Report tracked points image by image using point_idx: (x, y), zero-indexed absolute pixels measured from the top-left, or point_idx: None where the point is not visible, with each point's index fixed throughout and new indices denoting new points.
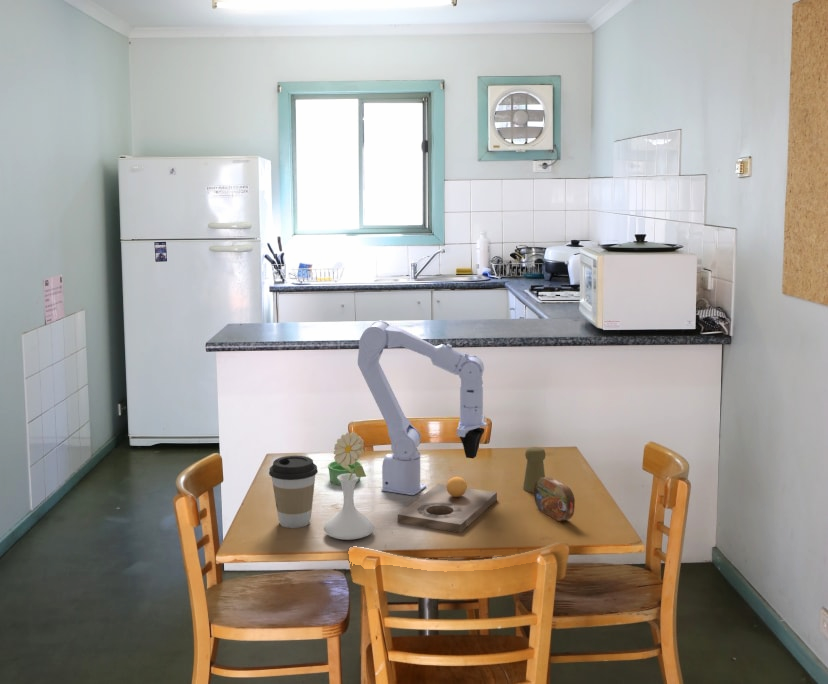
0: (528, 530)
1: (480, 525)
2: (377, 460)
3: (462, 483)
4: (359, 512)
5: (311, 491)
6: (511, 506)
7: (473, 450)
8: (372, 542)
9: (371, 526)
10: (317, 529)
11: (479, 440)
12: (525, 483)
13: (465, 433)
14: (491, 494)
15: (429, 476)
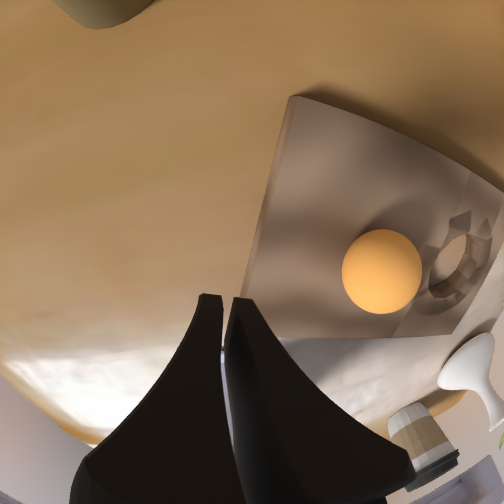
0: (490, 39)
1: (483, 151)
2: (91, 424)
3: (417, 258)
4: (482, 369)
5: (437, 436)
6: (348, 42)
7: (277, 347)
8: (491, 319)
9: (487, 339)
10: (432, 388)
11: (186, 394)
12: (128, 2)
13: (426, 500)
14: (331, 118)
15: (116, 354)
